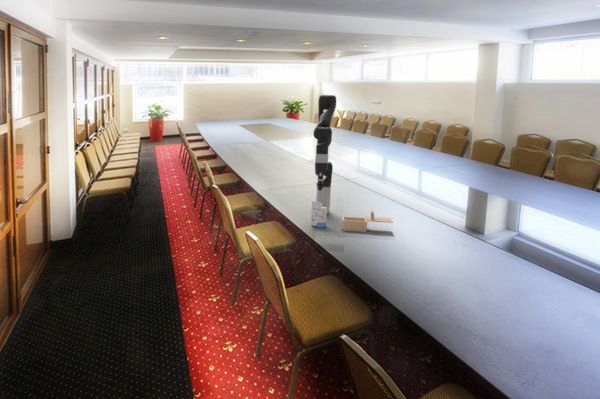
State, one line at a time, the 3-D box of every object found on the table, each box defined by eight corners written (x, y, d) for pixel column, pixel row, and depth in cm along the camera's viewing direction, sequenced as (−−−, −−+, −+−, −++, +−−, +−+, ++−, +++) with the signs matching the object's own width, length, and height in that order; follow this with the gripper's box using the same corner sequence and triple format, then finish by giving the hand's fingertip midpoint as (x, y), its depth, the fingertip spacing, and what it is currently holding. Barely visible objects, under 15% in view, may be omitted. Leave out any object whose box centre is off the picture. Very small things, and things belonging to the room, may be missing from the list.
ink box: (326, 226, 240) (327, 202, 237) (321, 227, 236) (322, 203, 234) (315, 224, 245) (316, 200, 243) (310, 225, 242) (311, 201, 239)
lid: (365, 217, 240) (366, 209, 240) (390, 218, 239) (390, 211, 238) (367, 221, 229) (367, 213, 228) (392, 222, 228) (393, 214, 227)
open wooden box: (341, 226, 242) (342, 216, 241) (365, 227, 241) (366, 217, 240) (342, 230, 232) (342, 220, 231) (366, 231, 230) (367, 221, 229)
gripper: (327, 162, 227) (326, 191, 230) (328, 161, 242) (327, 188, 244) (314, 162, 228) (313, 190, 231) (315, 161, 242) (314, 187, 245)
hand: (320, 189), depth 237 cm, fingers open, 8 cm apart
